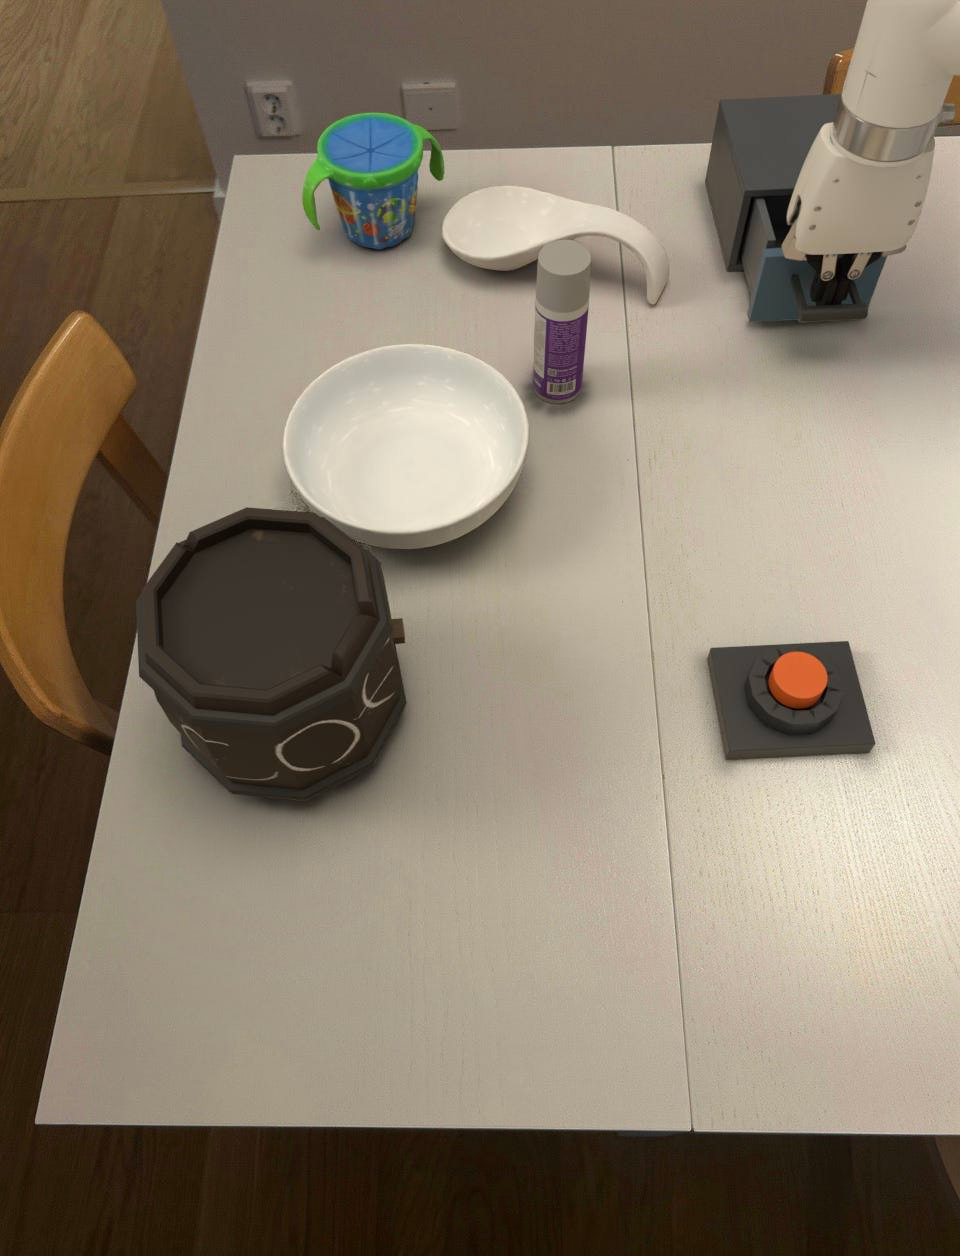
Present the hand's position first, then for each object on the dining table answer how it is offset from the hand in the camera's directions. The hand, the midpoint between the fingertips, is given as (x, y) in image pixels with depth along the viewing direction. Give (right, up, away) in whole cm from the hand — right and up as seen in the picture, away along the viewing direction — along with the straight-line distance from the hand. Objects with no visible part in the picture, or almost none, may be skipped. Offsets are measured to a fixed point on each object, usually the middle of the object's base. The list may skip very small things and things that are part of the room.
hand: (824, 304), depth 99 cm
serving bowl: (-38, -17, -3) cm, 42 cm away
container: (-25, -7, +3) cm, 26 cm away
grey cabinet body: (-1, +13, +14) cm, 19 cm away
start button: (-8, -35, -18) cm, 40 cm away
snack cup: (-43, +13, +15) cm, 47 cm away
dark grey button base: (-8, -36, -16) cm, 40 cm away
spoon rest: (-24, +7, +11) cm, 28 cm away
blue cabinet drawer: (0, +3, +7) cm, 8 cm away
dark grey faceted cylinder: (-46, -36, -15) cm, 61 cm away
